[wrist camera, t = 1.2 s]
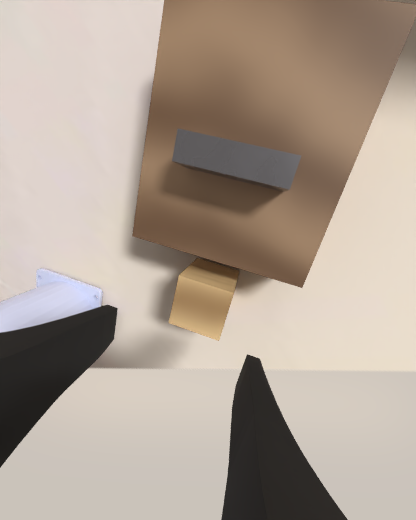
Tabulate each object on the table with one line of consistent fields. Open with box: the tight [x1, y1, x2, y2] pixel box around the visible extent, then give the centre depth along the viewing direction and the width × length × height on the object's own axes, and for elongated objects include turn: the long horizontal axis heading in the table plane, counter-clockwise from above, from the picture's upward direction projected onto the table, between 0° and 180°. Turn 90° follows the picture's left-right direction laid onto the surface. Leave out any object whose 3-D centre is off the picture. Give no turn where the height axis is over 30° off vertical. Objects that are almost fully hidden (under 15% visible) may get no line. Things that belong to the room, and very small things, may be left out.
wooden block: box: [169, 258, 239, 341], centre depth 18 cm, size 4×4×5 cm
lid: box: [132, 0, 416, 288], centre depth 12 cm, size 14×12×4 cm
